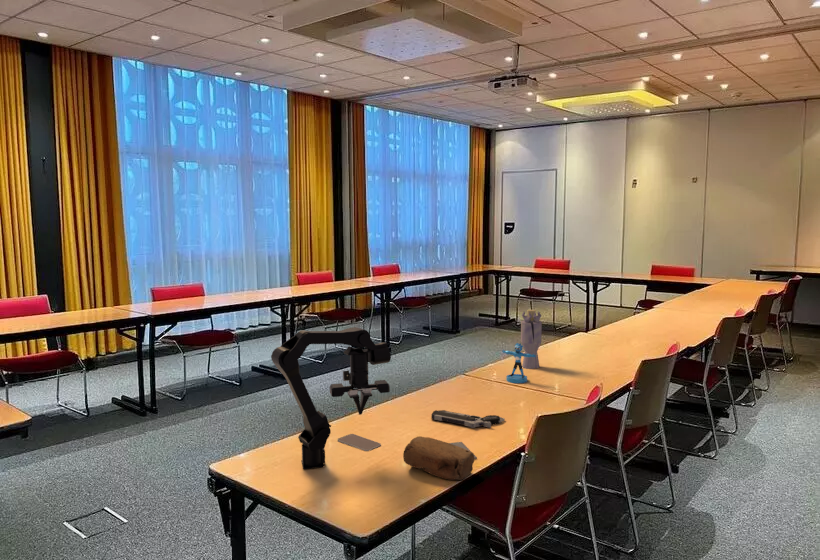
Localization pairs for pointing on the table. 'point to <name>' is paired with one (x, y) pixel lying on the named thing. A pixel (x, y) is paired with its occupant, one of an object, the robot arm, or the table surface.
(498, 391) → the table surface
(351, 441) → the smartphone
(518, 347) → the figurine
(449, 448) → the brown pitted rounded part
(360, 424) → the table surface
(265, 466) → the table surface
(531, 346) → the purple tower sculpture
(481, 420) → the firearm
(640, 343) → the table surface
